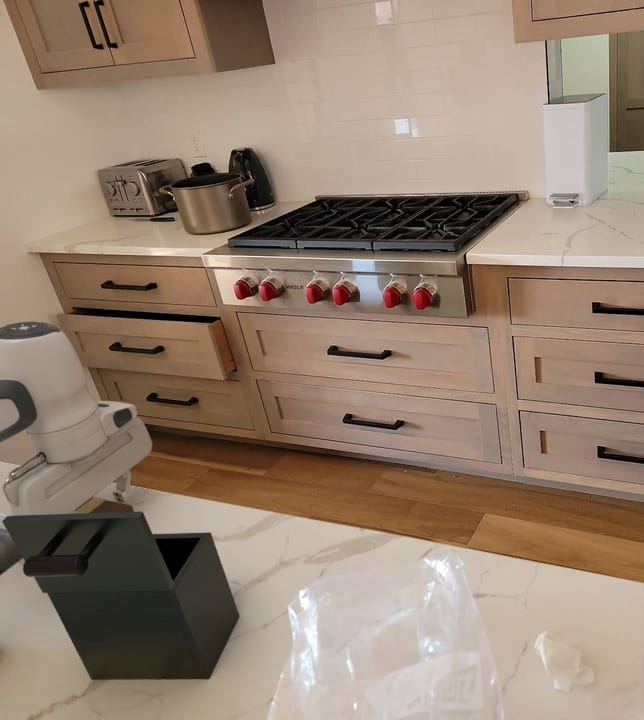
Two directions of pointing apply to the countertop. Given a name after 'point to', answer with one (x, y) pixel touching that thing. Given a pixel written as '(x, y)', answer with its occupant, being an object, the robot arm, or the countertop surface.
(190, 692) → the countertop surface
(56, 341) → the robot arm
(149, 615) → the bin
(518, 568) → the countertop surface
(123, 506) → the chocolate
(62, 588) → the bin lid
